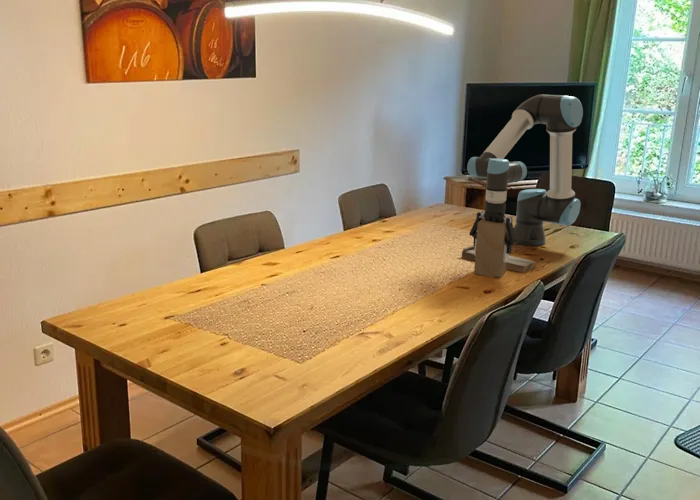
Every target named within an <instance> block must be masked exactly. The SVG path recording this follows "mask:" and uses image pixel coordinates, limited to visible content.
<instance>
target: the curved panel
mask: <svg viewBox="0 0 700 500" xmlns="http://www.w3.org/2000/svg"><path fill="white" fill-rule="evenodd" d="M462 249H463V250H462V251H461V258H463V257H464V259H467V258H468V259H467V260H471V259H472V260H471V261H475V255H474V252H475V246H474V245H471V246H468V247H464V248H462ZM536 264H537V263H536V261H535V260H531V259H525V258H522V257H519V256H515V255H510V254H509V260H508V262H506V270H511V271H515V272H519V273H525V272H528V271H531V270H533V269H536Z"/></svg>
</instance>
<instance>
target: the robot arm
mask: <svg viewBox="0 0 700 500" xmlns="http://www.w3.org/2000/svg"><path fill="white" fill-rule="evenodd" d="M583 116H584V108H583V105H582V103H581V101H580V99H579V98H577V97H576V96H571V95H570V96H569V95H561V94H544V93H543V94H536V95H535V96H532V97H530V98H528V99H526V100H525V101H523V102H522V103H520V104H519V106H517V107H516V109H514V111H513V112H512V115H511V118H510V119H509V121H508V122H507V123H506V125H505V126H504V127H503V129H501V131H500V132H499V133H498V134H497V136H496V137H495V138H494V140H492V142H491V143H490V144H489V146H487V148H486V149H485V150H484V151H483V152H482V154H481V155H480V156H472V157H470V159H469V160H468V162H467V165H466V166H467V167H466V169H467V172H468V174H469V175H470V176H472V177H475V178H479V179H486V188H485V201H484V212H483V211H479V212H477V213H476V219H475V221H474V222H473V225H472V227H471V229H470V231H469V233H468V234H469V236H471V237H473V242H472V244H473V245H474V246H475V252H474V255H475V254H476V240H477V226H478V222H479V221H480V220H482V219H483V218H485V220H486V221H493V222H495V223H502V222H504V221H505V223H506V227H507V231H508V232H507V231H506V234H505V243H506V245H504V254H503V262H504V263H505V262H508V260H509V255H510V254H511V253H512V248H513V245H523V246H542V245H543V246H544V245H545V244H546V240H547V239H546V238H547V237H546V233H545V228H544V222H547V223H551V224H555V225H560V226H570V225H573V223H575V221H576V220H577V218H578V216H579V214H580V211H581V201H580V199H578V198H576V192H575V191H574V189H572V177H573V174H572V173H573V172H572V171H573V170H572V169H573V167H572V166H573V134H574V132H576V130H577V127H579V126H580V125H581V123H582V120H583ZM537 124H541V125H546V126H545V127H546V129H545V130H546V132H547V133H548V135H549V190H546V189H544V188H543V189H542V188H530V189H523V190H520V191H519V192H518V195H517V201H516V202H517V203H516V215H515V223H514V225H513V217H511V216H510V217H508V216H505V213H506V209H507V208H506V206H507V203H506V201H507V194H508V184H512V183H518V182H520V181H523V180H524V179H525V178H526V176H527V174H528V169H527V166H526V164H525V163H524V162H522V161H519V160H518V161H516V160H514V161H509V159H505V157H506V156H507V155H508V153H510V151H511V150H512V149H513V148H514V146H515V144H517V143H518V141H519V140H520V139H521V138H522V136H523V135H524V134H525V132H526V131H527V130H530V129H532V128H533V127H534V126H535V125H537ZM473 245H472V246H473Z"/></svg>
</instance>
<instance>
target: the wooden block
mask: <svg viewBox="0 0 700 500" xmlns="http://www.w3.org/2000/svg"><path fill="white" fill-rule="evenodd" d="M506 231H507V227H506V223H505V221H504V222H502V223H495V222H493V221H486V220H485V218H484V217H483V218H482V220H480V221H479V222H478V226H477V240H476V254H475V260H474V269H473V274H474V275H477V276H478V275H479V276H484V277H485V276H487V277H491V278H499V279H500V278H502V276H503V274H504V273H505V272H506V270H507V268H506V262H505V263H504V262H503V254H504V245H506V243H505V234H506ZM507 232H508V231H507Z"/></svg>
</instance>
